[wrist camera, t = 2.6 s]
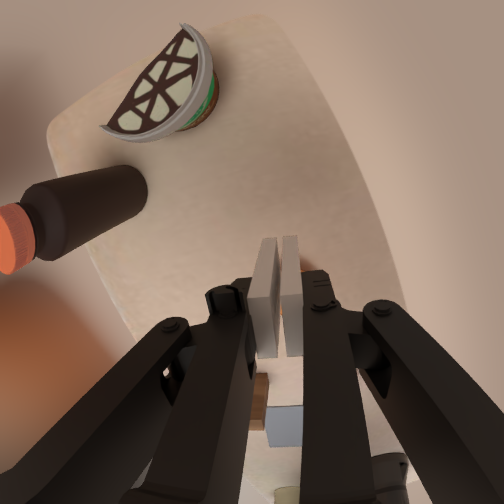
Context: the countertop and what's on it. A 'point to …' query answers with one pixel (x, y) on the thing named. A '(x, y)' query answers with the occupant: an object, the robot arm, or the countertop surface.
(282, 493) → the can
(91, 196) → the bottle
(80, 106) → the countertop surface
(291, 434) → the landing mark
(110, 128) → the food container
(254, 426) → the post
